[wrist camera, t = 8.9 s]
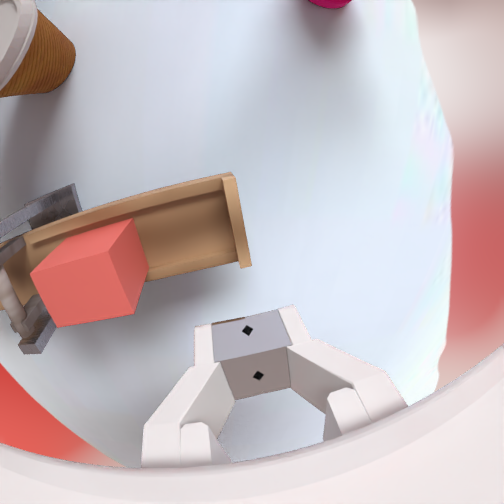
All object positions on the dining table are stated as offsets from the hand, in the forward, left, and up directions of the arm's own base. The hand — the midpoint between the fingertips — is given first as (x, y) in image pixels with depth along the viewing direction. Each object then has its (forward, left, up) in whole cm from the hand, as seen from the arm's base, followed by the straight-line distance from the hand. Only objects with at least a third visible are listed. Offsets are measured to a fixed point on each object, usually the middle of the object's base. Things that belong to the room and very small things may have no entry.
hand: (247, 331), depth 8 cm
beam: (0, -16, -16) cm, 23 cm away
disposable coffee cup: (-19, -15, -20) cm, 31 cm away
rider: (+1, -9, -12) cm, 15 cm away
